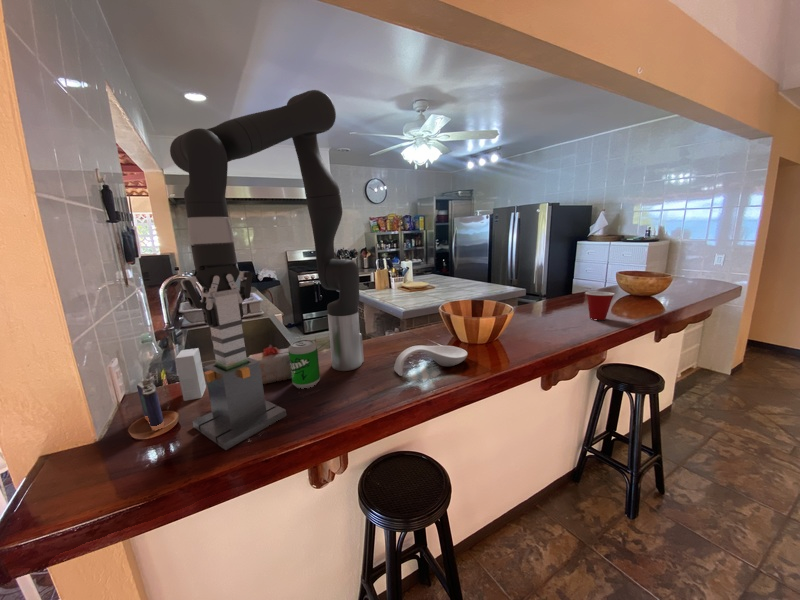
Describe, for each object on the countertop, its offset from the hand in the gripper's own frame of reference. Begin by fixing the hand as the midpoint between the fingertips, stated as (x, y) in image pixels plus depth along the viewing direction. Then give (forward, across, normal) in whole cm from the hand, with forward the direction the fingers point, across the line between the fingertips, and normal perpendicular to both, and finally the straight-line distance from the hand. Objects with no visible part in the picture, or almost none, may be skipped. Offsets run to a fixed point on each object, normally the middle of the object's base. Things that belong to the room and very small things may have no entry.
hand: (225, 322), depth 67 cm
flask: (+24, +11, -17) cm, 31 cm away
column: (+17, 0, 0) cm, 17 cm away
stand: (+23, 0, 0) cm, 23 cm away
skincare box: (+24, 0, -23) cm, 33 cm away
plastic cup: (+24, -128, +60) cm, 143 cm away
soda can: (+24, -20, -2) cm, 31 cm away
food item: (+24, -17, -13) cm, 32 cm away
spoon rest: (+24, -48, +22) cm, 58 cm away
